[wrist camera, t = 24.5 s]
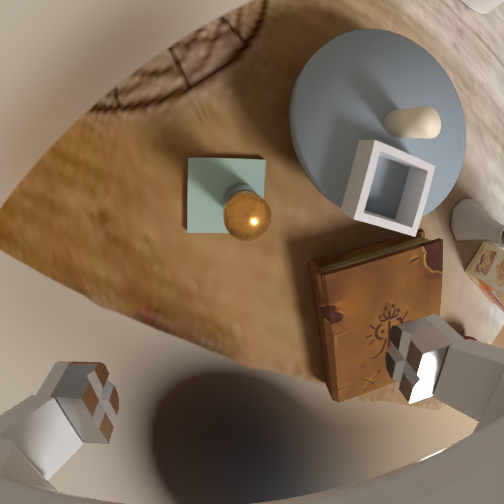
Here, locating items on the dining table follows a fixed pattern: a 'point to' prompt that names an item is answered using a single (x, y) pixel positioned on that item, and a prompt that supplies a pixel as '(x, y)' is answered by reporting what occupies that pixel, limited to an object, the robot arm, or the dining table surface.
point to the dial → (378, 128)
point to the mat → (217, 189)
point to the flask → (475, 223)
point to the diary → (372, 306)
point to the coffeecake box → (489, 273)
